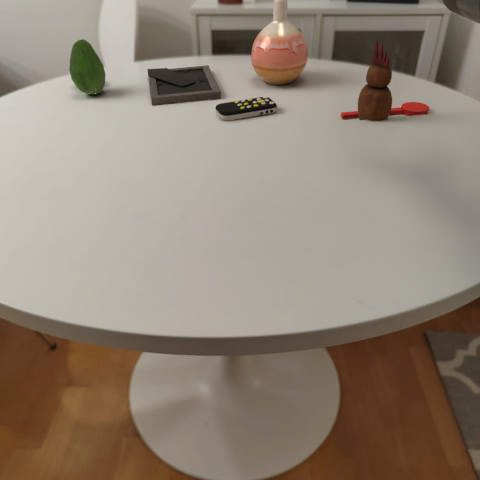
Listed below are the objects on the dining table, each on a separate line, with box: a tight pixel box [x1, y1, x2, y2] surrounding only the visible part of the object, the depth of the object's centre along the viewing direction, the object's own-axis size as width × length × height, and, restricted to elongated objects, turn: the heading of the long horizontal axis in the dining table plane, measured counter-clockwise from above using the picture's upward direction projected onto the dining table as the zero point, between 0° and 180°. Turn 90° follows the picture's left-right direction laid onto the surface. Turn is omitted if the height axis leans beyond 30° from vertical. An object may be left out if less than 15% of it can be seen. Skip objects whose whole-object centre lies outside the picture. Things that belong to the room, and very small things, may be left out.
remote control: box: [215, 95, 278, 122], centre depth 98 cm, size 6×13×2 cm, turn 109°
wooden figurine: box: [357, 40, 393, 122], centre depth 87 cm, size 7×6×15 cm
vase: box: [250, 0, 309, 86], centre depth 108 cm, size 14×14×18 cm
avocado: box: [68, 38, 106, 95], centre depth 107 cm, size 8×8×12 cm
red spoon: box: [340, 101, 430, 120], centre depth 96 cm, size 19×6×1 cm, turn 98°
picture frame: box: [146, 65, 222, 106], centre depth 112 cm, size 16×2×21 cm
